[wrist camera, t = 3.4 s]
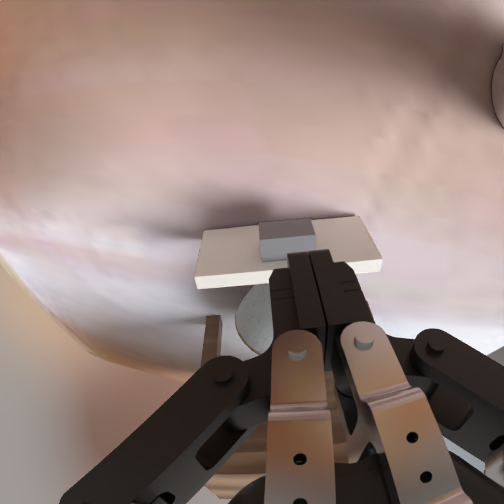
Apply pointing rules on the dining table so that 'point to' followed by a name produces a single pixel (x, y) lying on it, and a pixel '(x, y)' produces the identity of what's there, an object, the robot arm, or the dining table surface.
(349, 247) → the pull-out front
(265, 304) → the ceramic mug
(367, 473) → the robot arm
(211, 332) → the brown wooden small table
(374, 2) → the dining table surface
